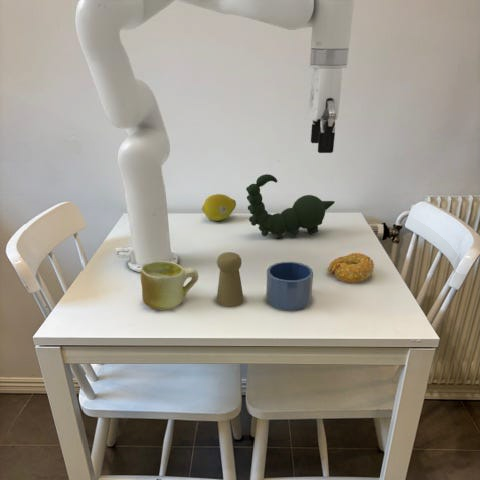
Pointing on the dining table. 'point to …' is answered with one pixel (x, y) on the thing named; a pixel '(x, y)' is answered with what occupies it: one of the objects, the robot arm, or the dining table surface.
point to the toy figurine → (285, 212)
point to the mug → (165, 284)
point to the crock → (289, 286)
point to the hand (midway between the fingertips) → (321, 147)
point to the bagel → (352, 267)
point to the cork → (229, 280)
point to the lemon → (218, 207)
